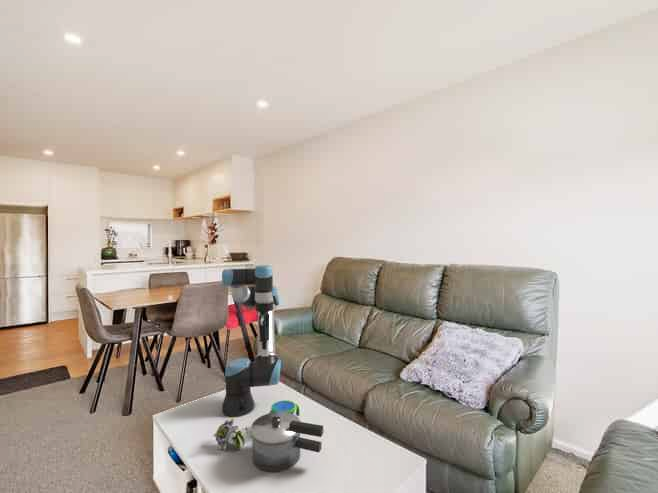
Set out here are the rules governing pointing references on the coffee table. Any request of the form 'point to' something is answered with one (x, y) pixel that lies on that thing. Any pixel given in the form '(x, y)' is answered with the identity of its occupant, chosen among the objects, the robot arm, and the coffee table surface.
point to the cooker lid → (281, 428)
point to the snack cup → (285, 407)
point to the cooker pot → (281, 453)
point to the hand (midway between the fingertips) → (264, 355)
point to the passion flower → (229, 435)
